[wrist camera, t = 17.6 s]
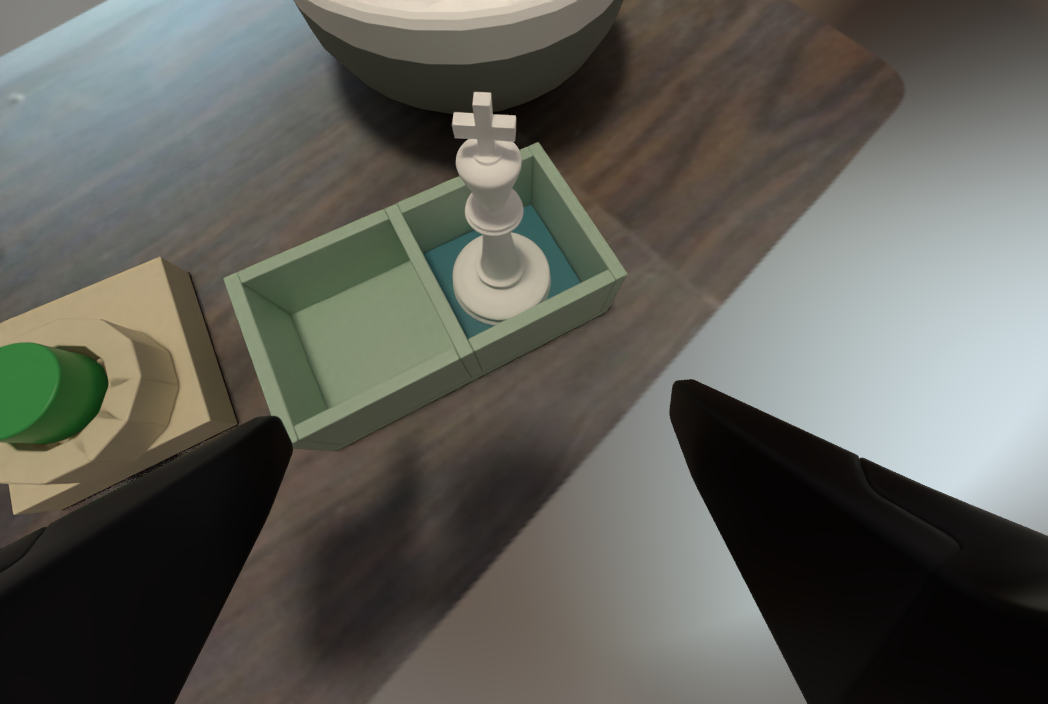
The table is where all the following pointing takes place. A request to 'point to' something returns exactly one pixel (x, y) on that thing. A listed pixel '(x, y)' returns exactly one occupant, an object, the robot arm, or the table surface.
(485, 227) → the chess piece
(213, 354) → the beige button base
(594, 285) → the green divided tray
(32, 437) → the button
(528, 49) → the bowl
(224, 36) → the table surface
